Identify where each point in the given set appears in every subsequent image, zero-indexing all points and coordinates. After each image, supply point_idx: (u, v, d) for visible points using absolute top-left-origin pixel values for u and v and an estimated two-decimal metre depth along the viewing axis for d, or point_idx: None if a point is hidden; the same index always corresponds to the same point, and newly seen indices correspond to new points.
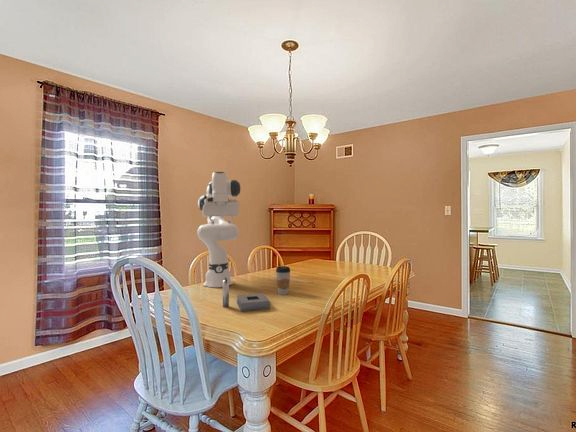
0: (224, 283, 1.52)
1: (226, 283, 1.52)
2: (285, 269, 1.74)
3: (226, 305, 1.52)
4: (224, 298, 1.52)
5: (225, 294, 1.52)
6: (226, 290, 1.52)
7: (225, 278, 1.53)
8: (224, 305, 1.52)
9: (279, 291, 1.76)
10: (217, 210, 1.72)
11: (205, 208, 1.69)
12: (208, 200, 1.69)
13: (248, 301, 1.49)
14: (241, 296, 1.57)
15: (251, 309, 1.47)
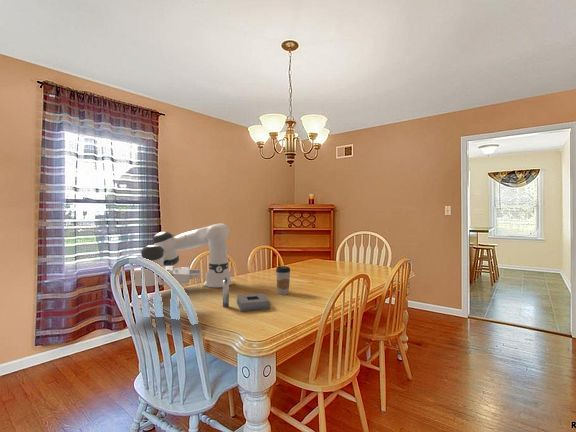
0: (224, 283, 1.52)
1: (226, 283, 1.52)
2: (285, 269, 1.74)
3: (226, 305, 1.52)
4: (224, 298, 1.52)
5: (225, 294, 1.52)
6: (226, 290, 1.52)
7: (225, 278, 1.53)
8: (224, 305, 1.52)
9: (279, 291, 1.76)
10: (183, 271, 1.45)
11: (180, 273, 1.39)
12: (170, 271, 1.39)
13: (248, 301, 1.49)
14: (241, 296, 1.57)
15: (251, 309, 1.47)
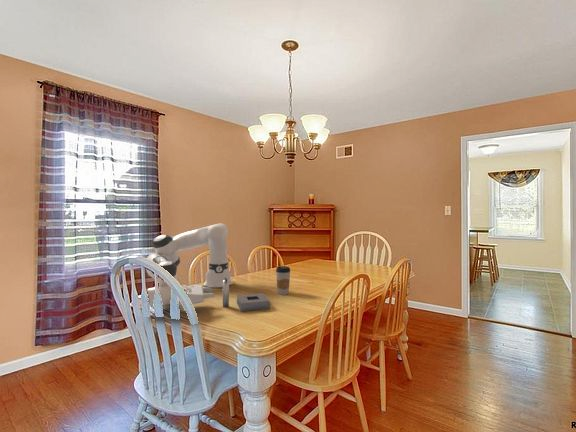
0: (224, 283, 1.52)
1: (226, 283, 1.52)
2: (285, 269, 1.74)
3: (226, 305, 1.52)
4: (224, 298, 1.52)
5: (225, 294, 1.52)
6: (226, 290, 1.52)
7: (225, 278, 1.53)
8: (224, 305, 1.52)
9: (279, 291, 1.76)
10: (196, 290, 1.47)
11: (194, 293, 1.40)
12: None
13: (248, 301, 1.49)
14: (241, 296, 1.57)
15: (251, 309, 1.47)
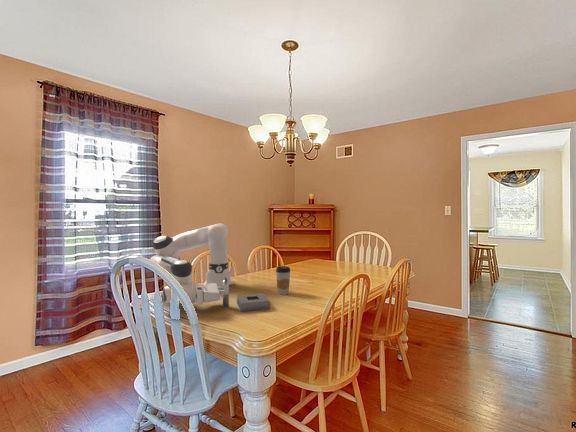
0: (224, 283, 1.52)
1: (226, 283, 1.52)
2: (285, 269, 1.74)
3: (226, 305, 1.52)
4: (224, 298, 1.52)
5: (225, 294, 1.52)
6: None
7: (225, 278, 1.53)
8: (224, 305, 1.52)
9: (279, 291, 1.76)
10: (212, 288, 1.50)
11: (210, 291, 1.43)
12: (200, 289, 1.43)
13: (248, 301, 1.49)
14: (241, 296, 1.57)
15: (251, 309, 1.47)
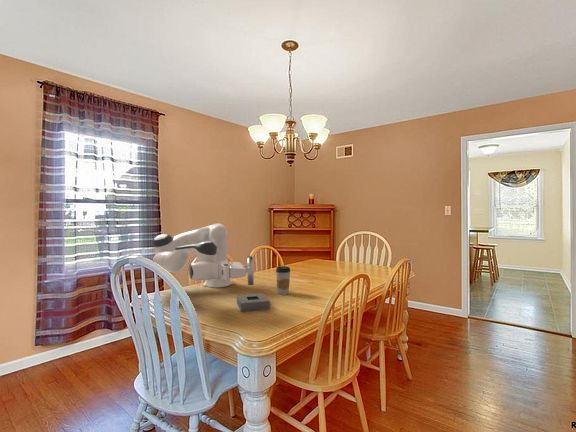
0: (249, 261, 1.52)
1: (251, 261, 1.52)
2: (285, 269, 1.74)
3: (251, 283, 1.53)
4: (249, 276, 1.53)
5: (250, 272, 1.52)
6: None
7: (250, 256, 1.54)
8: (249, 283, 1.53)
9: (279, 291, 1.76)
10: (237, 266, 1.50)
11: None
12: (227, 265, 1.44)
13: (248, 301, 1.49)
14: (241, 296, 1.57)
15: (251, 309, 1.47)
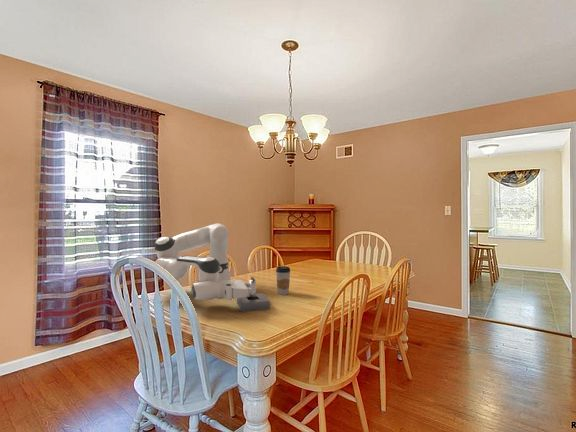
0: (251, 283, 1.53)
1: (253, 283, 1.53)
2: (285, 269, 1.74)
3: None
4: (251, 298, 1.53)
5: (252, 294, 1.53)
6: None
7: (252, 278, 1.54)
8: None
9: (279, 291, 1.76)
10: (240, 285, 1.50)
11: (239, 288, 1.44)
12: (229, 285, 1.44)
13: (248, 301, 1.49)
14: None
15: (251, 309, 1.47)
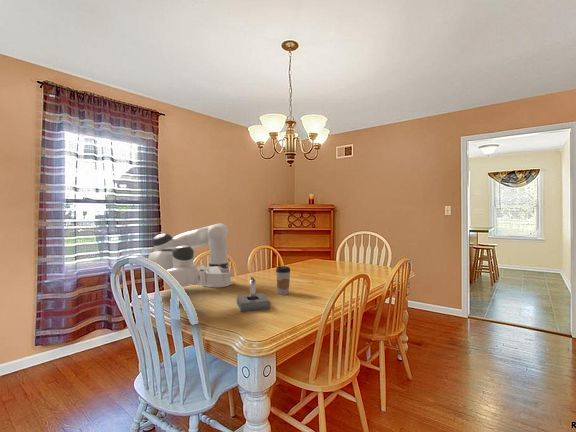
0: (251, 283, 1.53)
1: (253, 283, 1.53)
2: (285, 269, 1.74)
3: None
4: (251, 298, 1.53)
5: (252, 294, 1.53)
6: (253, 290, 1.53)
7: (252, 278, 1.54)
8: None
9: (279, 291, 1.76)
10: (214, 271, 1.48)
11: (213, 273, 1.42)
12: (203, 270, 1.42)
13: (248, 301, 1.49)
14: (241, 296, 1.57)
15: (251, 309, 1.47)
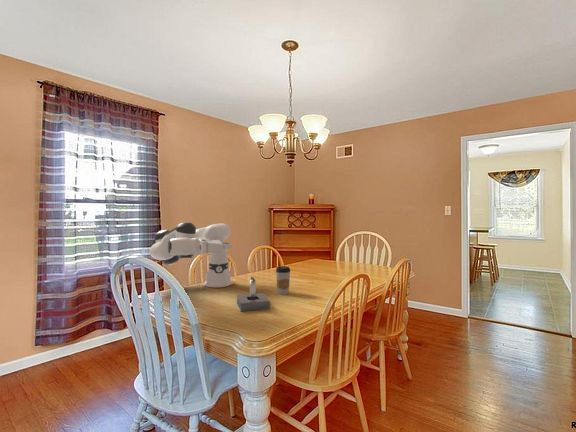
0: (251, 283, 1.53)
1: (253, 283, 1.53)
2: (285, 269, 1.74)
3: None
4: (251, 298, 1.53)
5: (252, 294, 1.53)
6: (253, 290, 1.53)
7: (252, 278, 1.54)
8: None
9: (279, 291, 1.76)
10: (215, 242, 1.54)
11: None
12: (204, 240, 1.48)
13: (248, 301, 1.49)
14: (241, 296, 1.57)
15: (251, 309, 1.47)
